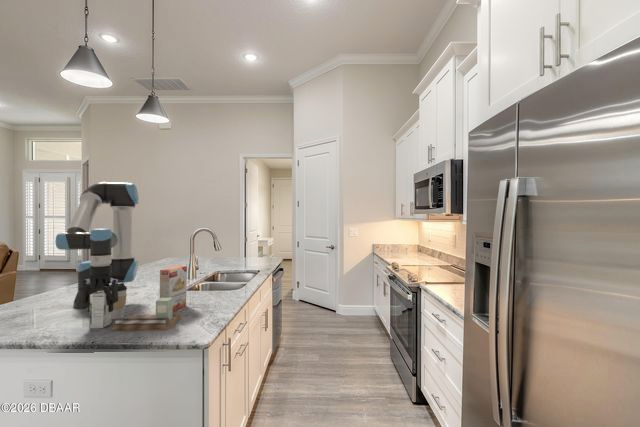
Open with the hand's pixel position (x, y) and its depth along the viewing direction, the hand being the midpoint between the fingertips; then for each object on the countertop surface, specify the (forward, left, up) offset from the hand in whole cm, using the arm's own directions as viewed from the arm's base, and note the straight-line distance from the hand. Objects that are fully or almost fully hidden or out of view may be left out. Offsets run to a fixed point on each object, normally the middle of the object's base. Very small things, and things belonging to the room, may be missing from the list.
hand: (100, 319), depth 138 cm
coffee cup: (-1, +13, -3) cm, 13 cm away
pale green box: (+26, +1, -1) cm, 26 cm away
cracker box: (+21, +24, -3) cm, 32 cm away
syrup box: (0, 0, -3) cm, 3 cm away
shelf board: (+19, +2, -3) cm, 19 cm away
